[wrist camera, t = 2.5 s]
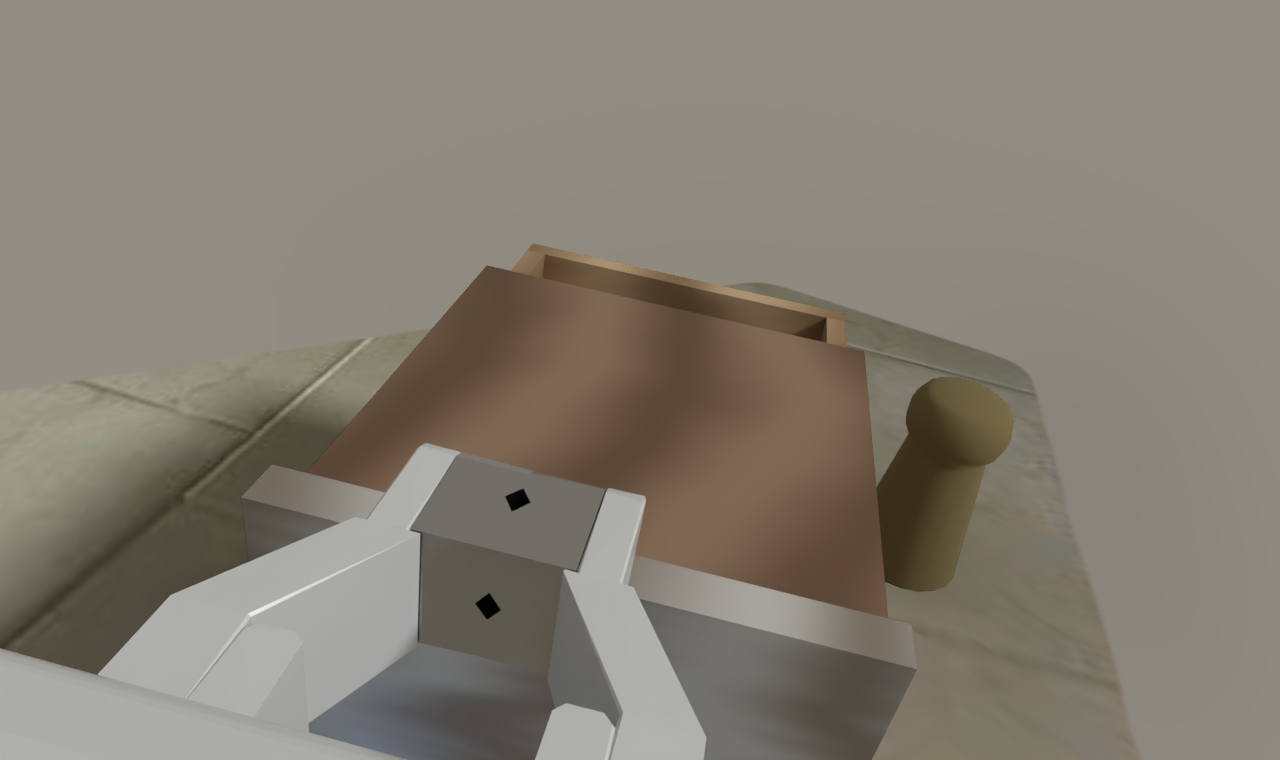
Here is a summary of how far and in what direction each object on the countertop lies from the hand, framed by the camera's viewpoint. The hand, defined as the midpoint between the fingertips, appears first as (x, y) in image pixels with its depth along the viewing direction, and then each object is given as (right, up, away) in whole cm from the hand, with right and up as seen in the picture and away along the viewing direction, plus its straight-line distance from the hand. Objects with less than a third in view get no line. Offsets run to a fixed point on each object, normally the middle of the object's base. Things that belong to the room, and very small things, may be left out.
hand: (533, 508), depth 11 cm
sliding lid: (0, -6, +18) cm, 18 cm away
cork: (+16, -8, +38) cm, 42 cm away
